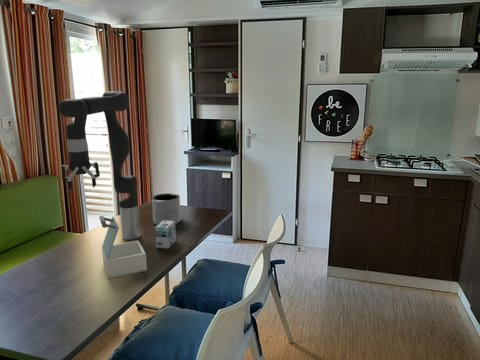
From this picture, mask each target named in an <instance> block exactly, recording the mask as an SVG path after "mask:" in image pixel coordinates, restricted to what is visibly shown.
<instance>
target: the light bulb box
mask: <svg viewBox="0 0 480 360" xmlns="http://www.w3.org/2000/svg"><path fill="white" fill-rule="evenodd" d="M154 231H155V232H154V234H155V247H156V248H159V249H170V247H172V245H173V244H174V243H175V242H176V241H177V236H176V224H175V221H166V220H163V221H162V222H161V223H160V224H158V225H156V226H155V227H154Z"/></svg>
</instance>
